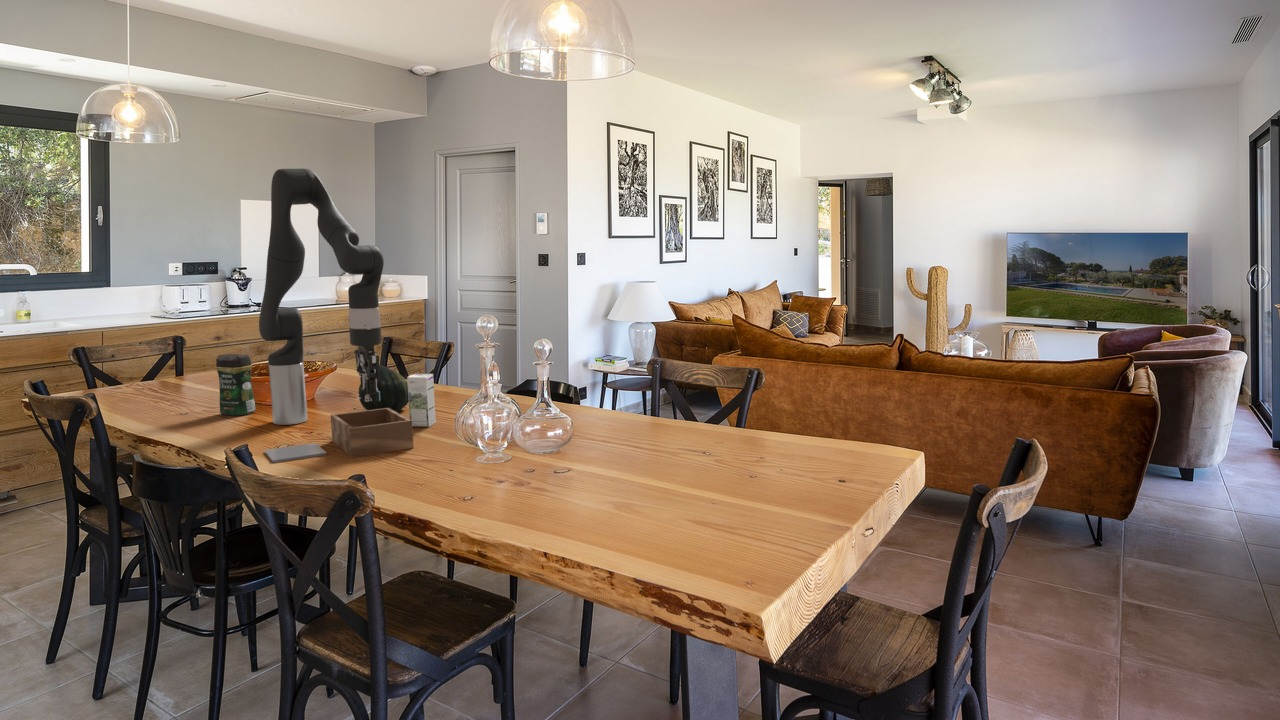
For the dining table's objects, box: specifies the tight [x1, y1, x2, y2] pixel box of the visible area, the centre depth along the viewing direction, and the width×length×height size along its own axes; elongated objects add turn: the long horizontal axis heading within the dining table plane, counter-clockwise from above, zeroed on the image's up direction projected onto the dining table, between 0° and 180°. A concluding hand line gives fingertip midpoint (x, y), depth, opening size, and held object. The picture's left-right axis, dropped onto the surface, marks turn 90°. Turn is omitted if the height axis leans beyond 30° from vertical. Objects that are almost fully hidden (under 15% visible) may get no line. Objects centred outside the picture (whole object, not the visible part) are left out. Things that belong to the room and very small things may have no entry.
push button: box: [355, 363, 381, 403], centre depth 201 cm, size 7×5×10 cm
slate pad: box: [264, 442, 327, 464], centre depth 194 cm, size 12×12×1 cm
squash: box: [358, 364, 409, 413], centre depth 244 cm, size 14×15×15 cm
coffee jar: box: [215, 353, 256, 417], centre depth 242 cm, size 10×8×19 cm
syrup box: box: [406, 373, 437, 428], centre depth 223 cm, size 6×6×14 cm
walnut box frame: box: [330, 408, 414, 458], centre depth 202 cm, size 20×15×7 cm
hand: (368, 392), depth 201 cm, fingers closed on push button, 5 cm apart
